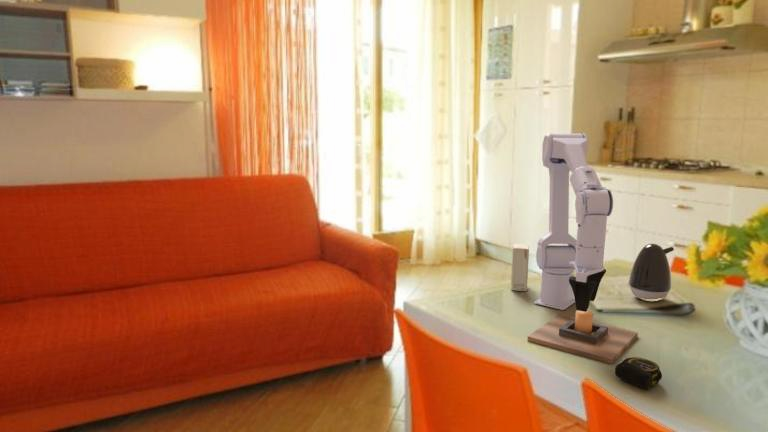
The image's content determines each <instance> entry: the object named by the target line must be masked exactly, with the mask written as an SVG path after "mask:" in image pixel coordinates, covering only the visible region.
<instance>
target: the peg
mask: <svg viewBox="0 0 768 432" xmlns="http://www.w3.org/2000/svg"><path fill="white" fill-rule="evenodd" d="M574 317H575V331H579V332H583V333H587V334H592V322H594V321H593V319H594V312H592V311H590V310H588V309H587V311H586V312H584V311H579V310H577V309H576V311H575V316H574Z"/></svg>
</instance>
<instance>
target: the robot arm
mask: <svg viewBox="0 0 768 432" xmlns="http://www.w3.org/2000/svg"><path fill="white" fill-rule="evenodd" d="M588 150H589V139H588V136H587V134H586V133H584V132H580V133H557V132H556V133H555V132H554V133H551V132H546V134H545V135H544V137H543V141H542V151H541V152H542V159H541V160H542V166H543V167H545V168H547V169H548V174H549V196H548V197H549V198H548V199H549V204H548V208H549V210H548V213H549V214H548V216H549V217H548V232H547V233H546V234H545V235H543V236H541V237H540V238H539V239H538V241H537V249H536V253H535V255H536V256H535V259H536V265H537V267H538V268H539V269H540V270H541V271H542V272H541V284H540V285H541V288H540V297H539V298H538V299H536V300H535V301H534V303H533V304H536V305H540V306H542V307H543V306H544V307H549V308H552V309H556V310H561V311H564V310H566V309H568V308H570V307H571V305H573V304H575V308H576V309H575V310H576V311H577V310H579V311H584V312H586V311H587V310H588V309H589V306H590V302H595V300H596V297H597V294H598V291H599V287H600V284H601V281H602V279H603V278H604V276H605V274H606V273H607V269H606V268H605V266H604V257H605V256H604V255H605V244H606V235H607V221H608V217H610V216H611V215H612V213H613V208H614V197H613V194H612V191H611V189H610V188H607V187H606V186H604V187H603V186H602V183H601V181H600V179H599V176H598V174H597V172H596V170H595V169H594V168H592V167H591V166H589V164H588V162H587V158H586V156H587V154H588ZM570 172H571V174H570ZM570 185H571V186H572V190H573V192H574V195H575V203H574V206H575V207H574V208H575V220H576V221H575V222H576V223H577V230H576V238H575V237H573V235H571V234H570V233H569V219H570V217H569V216H570V215H569V209H570V206H569V203H570V202H569V201H570V199H569V197H570V196H569V195H570ZM574 272H575V273H576V274H575V273H574Z"/></svg>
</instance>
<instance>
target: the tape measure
mask: <svg viewBox="0 0 768 432" xmlns="http://www.w3.org/2000/svg"><path fill="white" fill-rule="evenodd" d="M614 374H615V376H616V377H617V378H619V379H621V380H623V381H625V382H628V383H630V384H633V385H636V386H637V387H640V388H642V389H645V390H650V389H651V388H652V387H655V386H657V385H658V384H659V382H660V381H661V380H662V377H663V373H662V371H661V370H660V366H659V364H657V363H656V362H654V361H653V360H650V359H648V358H647V359H646V358H644V357H637V356H636V357H635V356H634V357H627V358H625V359H623V360H622V361H621V362H620V363H618V364H617V365H615V368H614Z"/></svg>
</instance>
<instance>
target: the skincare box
mask: <svg viewBox="0 0 768 432" xmlns="http://www.w3.org/2000/svg"><path fill="white" fill-rule="evenodd" d="M529 253H530V247H529V245H528V244H525V243H513V244H512V257H511V258H512V259H511V279H510V289H511V291H515V292H516V291H519V292H527V291H528V278H529V277H528V275H529V259H530V258H529V257H530V256H529V255H530V254H529Z"/></svg>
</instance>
